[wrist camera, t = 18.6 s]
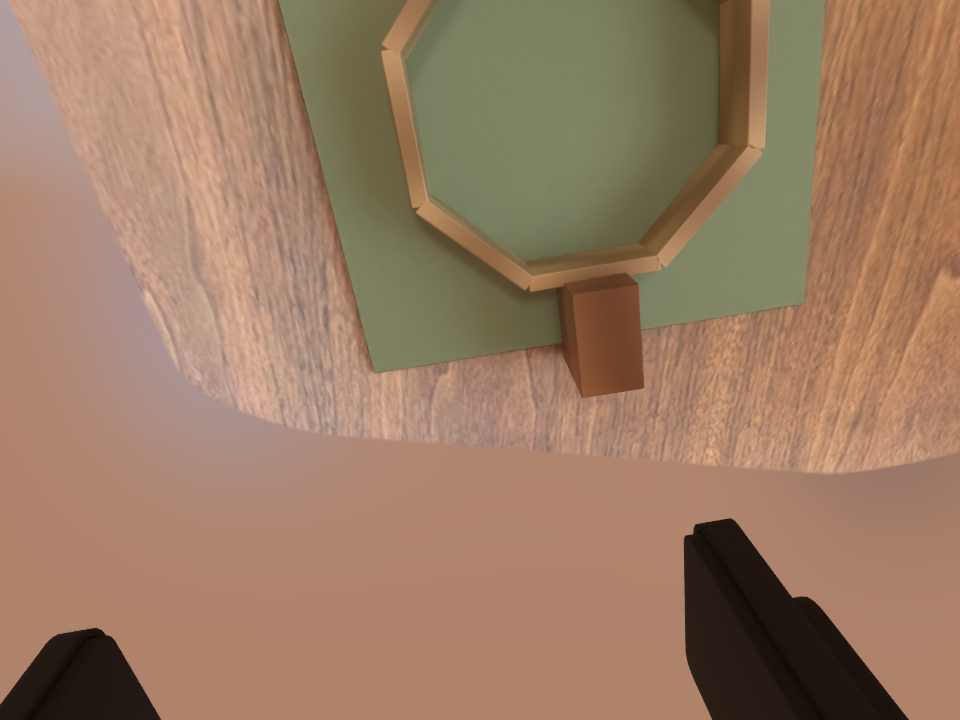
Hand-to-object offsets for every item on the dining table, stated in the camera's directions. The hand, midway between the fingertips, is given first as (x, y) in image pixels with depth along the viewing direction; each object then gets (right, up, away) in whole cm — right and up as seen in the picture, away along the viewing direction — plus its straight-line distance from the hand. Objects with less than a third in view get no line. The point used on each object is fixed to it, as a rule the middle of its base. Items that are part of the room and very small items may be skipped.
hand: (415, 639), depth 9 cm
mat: (+5, +17, +18) cm, 25 cm away
